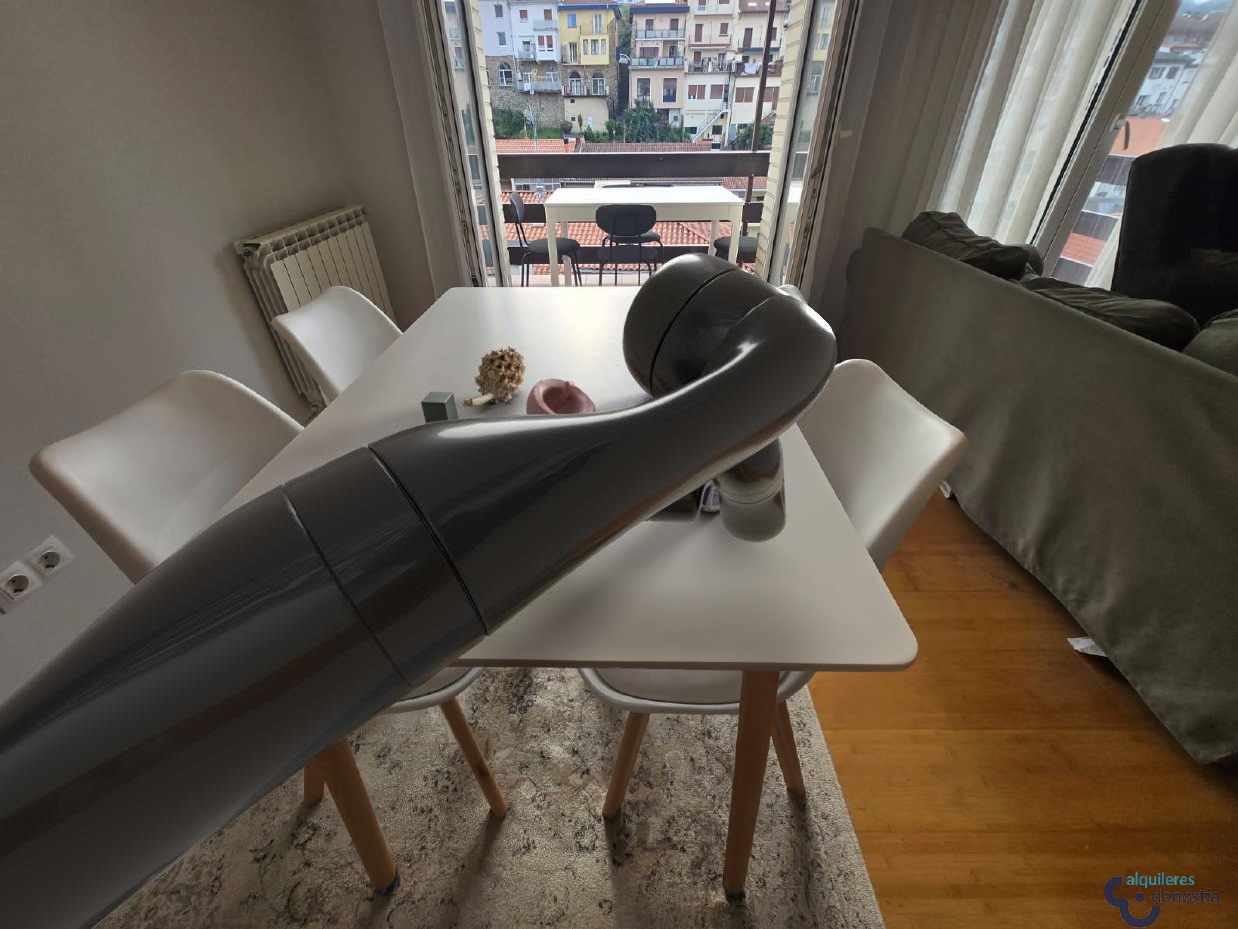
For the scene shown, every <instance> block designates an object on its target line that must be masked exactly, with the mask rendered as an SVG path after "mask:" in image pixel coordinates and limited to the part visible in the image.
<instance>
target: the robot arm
mask: <svg viewBox="0 0 1238 929" xmlns="http://www.w3.org/2000/svg"><path fill="white" fill-rule="evenodd" d="M626 313H627V314H626V317H625V320H624V324H623V328H622V340H621V344H622V354H623V359H624V362H625V365H626V367H627V370H628V372H629V373H630V375H631V377H632V378H633V379H634V381H635V382H636V383H637V385H638V386H639V388H641V389H642V390H643V392H645V393H646V394H647V396H648V397H650V398H651V399H648V400H645V401H643V402H640V403H636V404H632V405H629V406H625V407H620V408H615V409H609V410H604V411H603V410H602V411H595V412H591V413H578V414H550V415H527V414H517V415H516V414H514V415H513V414H512V415H490V416H476V417H475V416H473V417H461V418H458V419H453V420H445V421H438V422H430V423H426V422H425V423H426V424H424V423H421V424H418V425H413V426H409V427H406V428H403V429H400V430H397V431H394V432H392V433H390V434H386V435H383V436H382V437H379V438H378V439H375V440H373V441H371V442H368V443H367V444H366V446H360V447H357V448H356V449H353V450H351V451H349V452H347V453H345V454H342V455H340V456H338V457H337V458H334V459H332V460H330V461H328V462H326V463H323V464H322V465H319V466H317V467H315V468H312V469H311V470H309V471H307V472H305V473H302V474H299V475H298V476H296V477H294V478H292V479H289V480H287V481H285V482H284V484H279V485H278V486H276V487H273V488H271V489H270V490H268V491H266V492H264V493H262V494H261V495H259V496H257V497H255V498H253V499H251V500H249V501H248V502H246V503H244V504H243V505H240V506H239V507H237V508H235V509H233V510H232V511H231V512H229V513H227V514H225V515H224V516H222V517H221V518H219V519H218V520H216V521H215V522H213V523H212V524H210V525H208V527H206V528H205V529H203V530H202V531H201V532H199V533H198V534H196V535H195V536H194V537H192V538H191V539H189V541H187V542H185V543H184V544H183V545H182V546H180V547H179V548H178V549H177V550H175V552H173V553H171V555H169V556H168V557H167V558H165V560H163V561H161V563H160V564H158V565H157V566H156V567H155V568H154V569H152V570H151V571H150V572H149V573H148V574H147V575H145V576H144V577H143V578H142V579H140V581H138V582H137V583H136V584H135V585H133V586H132V587H131V588H129V590H128V591H127V592H126V593H124V594H123V595H122V596H121V597H119V599H117V600H116V601H115V602H114V603H113V604H112V605H111V606H109V607H108V608H107V609H106V610H105V611H104V612H102V614H100V616H98V617H97V618H96V619H95V620H94V621H92V622H91V624H89V625H88V626H87V627H86V628H85V629H84V630H83V631H82V632H81V633H79V635H77V636H76V637H75V638H74V639H73V640H72V641H70V643H68V645H66V646H65V647H63V649H61V650H60V651H59V652H58V653H57V654H56V655H55V656H53V657H52V658H51V659H50V660H49V661H48V662H46V664H44V665H43V666H42V667H41V668H40V669H38V671H36V672H35V673H34V674H33V675H31V676H30V677H29V678H28V679H27V680H26V681H25V682H23V683H22V684H21V685H20V686H19V687H18V688H16V689H15V690H14V691H13V692H12V693H11V694H9V695H8V696H7V697H5V698H4V699H3V700H2V701H1V702H0V929H95V928H96V927H97V926H98V925H99V924H100V923H102V922H103V921H104V920H106V919H107V918H108V917H109V916H111V915H112V914H113V913H114V912H116V911H117V910H118V909H119V908H121V907H122V906H124V904H126V903H127V902H129V900H131V899H132V898H133V897H136V895H137V894H139V893H140V892H141V891H143V890H144V889H145V888H146V887H148V886H149V885H151V884H152V883H153V882H154V881H155V880H157V879H158V878H160V877H161V876H162V875H163V874H165V873H166V872H168V870H170V869H171V868H173V867H174V866H175V865H176V864H178V863H179V862H180V861H182V860H183V859H184V858H186V857H187V856H188V855H190V854H191V853H192V852H194V851H195V850H196V849H198V848H199V847H200V846H201V845H203V844H204V843H206V842H207V841H208V840H210V839H211V838H212V837H213V836H215V835H216V834H217V833H219V832H221V830H223V829H224V828H225V827H227V826H228V825H229V824H231V823H232V822H233V821H234V820H235V819H237V818H239V817H240V816H241V815H243V813H245V812H246V811H247V810H249V809H250V808H252V807H253V806H254V805H256V804H257V803H259V802H260V801H261V800H262V799H263V798H265V797H266V796H268V794H270V793H271V792H273V791H274V790H276V789H277V788H278V787H279V786H281V785H282V784H284V783H285V782H286V781H288V780H289V779H290V778H292V777H293V776H294V775H296V774H297V773H299V772H300V771H301V770H303V769H304V768H305V767H306V766H308V765H309V764H311V763H312V762H313V761H315V760H316V759H317V758H319V757H320V756H321V755H323V754H324V753H325V752H327V751H328V750H329V749H331V748H332V747H334V746H335V745H336V744H337V743H339V742H341V741H342V740H344V739H345V738H346V737H348V736H349V735H351V734H352V733H354V732H355V731H357V730H359V729H360V728H361V727H362V726H364V725H366V724H367V723H368V722H370V721H371V720H373V719H375V718H376V717H378V716H379V715H380V714H382V713H384V712H385V711H386V710H388V709H390V708H392V706H394V705H396V704H397V703H399V702H400V701H401V700H403V699H404V698H406V697H407V696H409V695H411V694H412V693H413V692H414V691H415V690H416V689H419V688H420V687H421V686H422V685H424V684H425V683H427V682H428V681H429V680H431V679H432V678H434V677H436V675H437V674H440V672H441V671H443V670H444V669H446V668H447V667H449V666H450V665H452V664H453V663H454V662H456V661H457V660H458V659H460V658H461V657H462V656H464V655H465V654H466V653H468V652H469V651H471V650H472V649H473V648H475V647H476V646H477V645H479V644H480V643H481V642H483V641H484V640H485V639H486V637H490V636H492V635H493V634H494V633H495V632H496V631H498V630H499V629H500V628H502V627H503V626H505V625H506V624H507V623H508V622H509V621H510V620H512V619H513V618H515V617H516V616H518V614H520V613H521V612H522V611H524V610H525V609H526V608H527V607H529V606H530V605H531V604H532V603H534V601H536V600H538V599H539V598H540V597H542V596H543V595H544V594H546V593H547V592H548V591H549V590H550V589H552V588H554V586H556V585H557V584H558V583H560V582H561V581H562V580H563V579H565V578H567V576H569V575H571V574H572V573H573V572H574V571H576V570H577V569H579V567H581V566H583V565H584V564H585V563H587V561H589V560H590V559H592V558H593V557H594V556H596V555H597V554H599V553H600V552H601V551H603V550H604V549H606V548H607V547H608V546H610V545H611V544H613V543H614V542H616V541H617V540H618V539H619V538H621V537H623V536H624V535H625V534H627V533H628V532H630V531H631V530H633V529H634V528H635V527H637V526H638V525H640V524H642V523H643V522H659V523H660V522H661V523H692V522H694V521H696V520H697V519H698V517H699V516H700V513H701V511H702V510H701V506H702V501H703V496H704V492H705V490H706V488H707V487H709V486H710V485H713V484H714V485H715V487H716V489H717V492H718V498H719V508H720V510H719V514H720V521H721V524H722V526H723V528H724V529H725V530H726V531H727V533H728V534H730V535H731V536H732V537H734V538H735V539H738V540H740V541H743V542H748V543H763V542H767V541H771V540H772V539H774V538H776V537H777V536H779V535H780V534H781V533H782V532H783V530H784V529H785V527H786V524H787V506H786V505H787V504H786V485H785V464H784V463H785V462H784V451H783V447H782V443H781V440H780V438H779V437H781V436H782V435H783V434H784V433H785V432H787V431H788V430H789V429H790V428H791V427H792V426H794V425H795V424H796V423H797V422H798V421H799V420H800V419H801V418H802V417H803V416H804V415H805V414H806V413H807V412H808V411H809V410H810V409H811V407H812V406H813V405H814V404H815V403H816V401H817V400H818V399H819V397H820V396H821V395H822V394H823V392H824V390H825V389H826V388H827V385H828V384H829V382H830V380H831V378H832V375H833V373H834V370H835V368H836V364H837V358H838V344H837V339H836V336H835V334H834V332H833V330H832V327H831V326H830V325H829V323H828V322H826V320H825V319H823V318H822V317H821V316H820V315H819V314H818V313H817V312H816V311H815V310H814V309H813V308H812V307H810V306H809V305H807V303H805V302H804V301H802V300H800V299H798V298H796V297H794V296H793V295H791V294H789V293H787V292H785V291H784V290H782V289H780V288H778V287H777V286H775V285H773V284H771V283H769V282H767V281H766V280H764V279H762V278H760V277H759V276H758V275H755V274H753V273H752V272H749V271H748V270H747V269H743V268H742V267H740V266H739V265H736V264H735V263H733V262H731V261H728V260H726V259H724V258H722V257H718V256H716V255H713V254H712V255H711V254H707V253H703V252H691V253H690V252H689V253H684V254H681V255H678V256H675V257H673V258H671V259H669V260H668V261H666V262H665V263H663V264H662V265H661V266H659V267H658V268H657V269H656V270H655V271H654V272H653V273H651V275H650V276H649V277H648V278H647V279H646V280H645V282H644V283H643V284H642V286H641V287H640V289H639V290H638V292H637V293H636V295H635V297H634V298H633V300H632V302H631V304H630V306H629V309H628V311H627V312H626Z"/></svg>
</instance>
